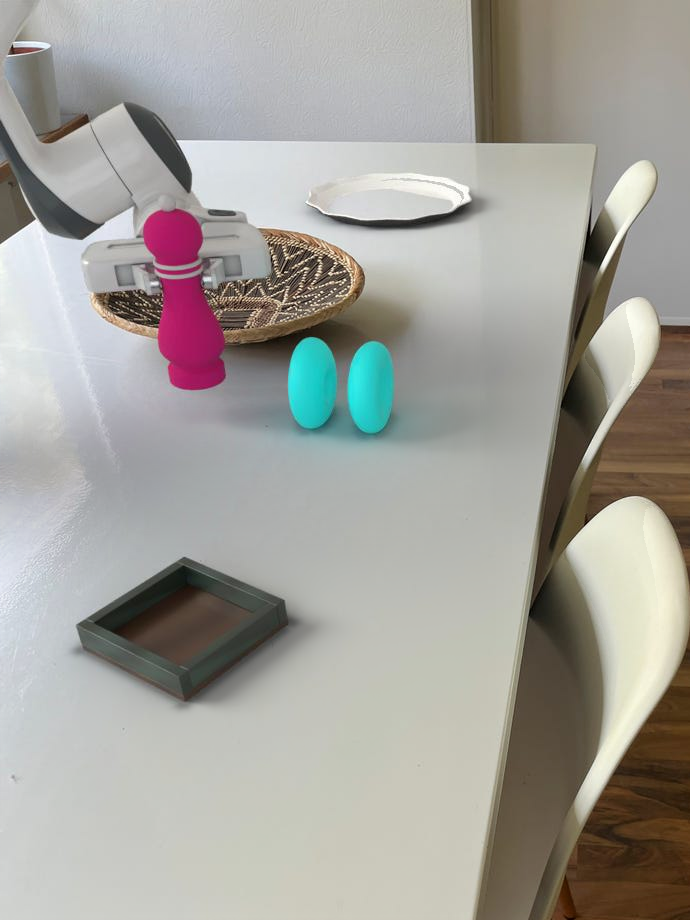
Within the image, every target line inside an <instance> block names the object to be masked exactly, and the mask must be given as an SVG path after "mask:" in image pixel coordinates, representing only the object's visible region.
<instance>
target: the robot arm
mask: <svg viewBox="0 0 690 920" xmlns="http://www.w3.org/2000/svg"><path fill="white" fill-rule="evenodd" d="M40 2H41V0H0V150H1V152H2V153H3V155H4V158H5V159H6V161H7V162H8V165H9V166H10V169H11V170H12V173H13V174H14V176H15V178H16V180H17V182H18V185H19V189H20V191H21V193H22V197H23V198H24V201H25V203H26V205H27V207H28V209H29V210H30V212H31V214H32V215H33V217H34V218H35V220H36V221H37V222H38V223H39V224H40V225H41V226H42V227H43V228H44V230H45V231H47V233H49V234H51V235H54V236H57V237H61V238H64V239H69V240H75V241H76V240H77V241H83V240H85V239H86V238H88V237H89V236H90V235H92V234H93V233H94V232H96V231H97V230H99V229H100V228H101V227H103V226H104V225H105V224H106V223H107V222H109V221H110V220H112V219H114V218H115V217H117V216H119V215H121V214H123V213H125V212H126V211H128V210H130V209H131V208H133V209H132V227H133V238H131V237H130V238H118V239H106V240H99V241H95V242H91V243H90V244H89V245H88V246H86V248H85V249H84V251H83V252H82V253H81V255H80V265H81V268H82V269H81V270H82V275H83V279H84V282H85V286H86V287H85V288H86V289H87V290H88V292H89V291H90V292H92V293H95V294H105V293H115V292H126V291H137V290H142V291H145V292H146V295H147V296H154V295H156V296H157V295H162V290H161V288H162V283H161V280H160V277H159V276H157V275H156V274H155V266H154V264H153V260H154V259H155V258H156V257H155V256H154V255H153V254H152V253H150V252H149V250H148V249H147V247H146V246H145V243H144V238H143V227H144V224H145V221H146V219H147V218H148V217H149V216H150V215H151V214H153V213H154V212H156V211H158V210H161V208H160V207H159V204H158V200H159V197H160V196H161V195H162V194H170V195H172V196H173V197H174V198H175V200H176V209H181V210H184V211H186V212H188V213H190V214H191V215H193V216H194V217H195V218H196V220H197V221H198V223H199V225H200V227H201V230H202V234H203V244H202V246H201V248H200V250H199V252H198V255H199V256H201V258H202V261H201V265H202V266H203V271H202V272H201V273H200V279H201V285H202V287H203V291H208V290H209V291H210V290H218V289H219V286H218V285H219V284H221V283H225V282H236V281H247V280H249V281H250V280H260V279H261V280H262V279H265V278H268V277H269V276H271V275H272V262H271V253H270V247H269V244H268V242H267V240H266V237H265V236H264V234H262V232H261V231H260V230H259V228H258V227H256V226H255V225H253V224H251V223H249V221H248V217H247V214H246V213H245V212H243V211H241V210H230V209H229V210H228V209H216V208H215V209H214V208H208V207H203V204H202V203H201V201H200V200H199V198H198V197H197V195H196V194H195V193H194V192H193V190H192V186H193V172H192V168H191V167H190V164H189V161H188V159H187V158H186V156H185V154H184V151H183V150H182V148H181V146H180V143H179V142H178V141H177V138H176V137H175V136H174V135H173V133H172V132H171V130H170V129H169V127H168V126H167V125H166V123H164V121H163V120H162V119H161V118H160V116H158V115H157V114H156V113H155V112H154V111H152V110H150V109H148V108H146V107H144V106H142V105H140V104H137V103H134V102H131V101H123V102H122V103H120V104H117V105H116V106H113V107H112V108H110V109H109V110H107V111H105V112H103V113H101V114H99V115H97V116H96V117H94V118H92V119H91V120H90V121H89V122H88V123H86V124H83V125H82V126H80V127H78V128H77V129H75V130H73V131H72V132H70V133H69V134H67V135H65V136H63V137H61V138H60V139H58V140H55V141H54V142H51V143H45V142H42V141H40V140H39V139H38V137H37V135H36V133H35V131H34V130H33V127H32V126H31V123H30V122H29V120H28V117H27V116H26V114H25V112H24V109H23V108H22V105H21V104H20V102H19V100H18V98H17V96H16V94H15V92H14V90H13V88H12V86H11V84H10V83H9V81H8V79H7V76H6V71H5V67H6V61H7V57H8V55H9V52H10V50H11V49H12V46H13V45H14V42H15V41H16V39H17V37H18V36H19V35H20V33H21V32H22V30H23V29H24V27H25V26H26V24H27V23H28V22H29V20H30V19H31V17H32V16H33V14H34V13H35V12H36V10H37V8H38V6H39V4H40Z"/></svg>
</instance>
